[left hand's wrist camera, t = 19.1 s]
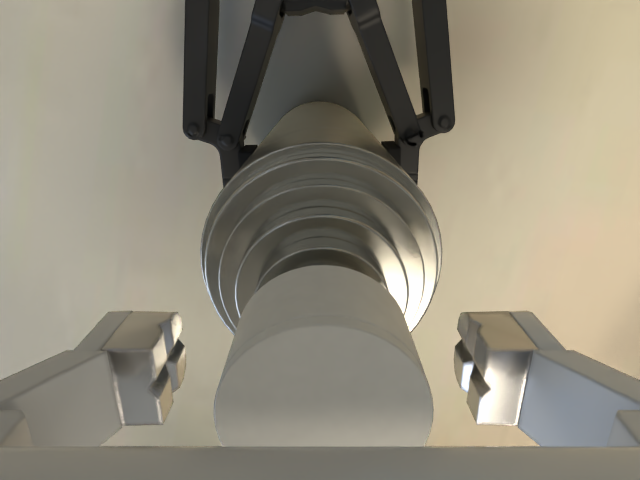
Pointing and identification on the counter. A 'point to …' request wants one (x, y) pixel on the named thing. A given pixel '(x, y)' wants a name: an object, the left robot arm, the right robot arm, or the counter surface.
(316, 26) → the counter surface
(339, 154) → the silver ridged cylinder
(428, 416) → the cap
